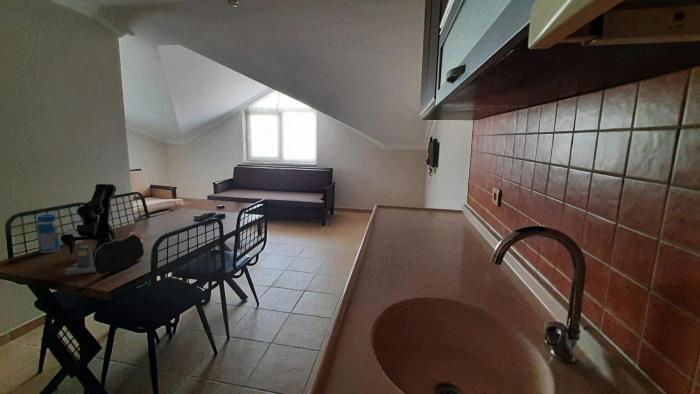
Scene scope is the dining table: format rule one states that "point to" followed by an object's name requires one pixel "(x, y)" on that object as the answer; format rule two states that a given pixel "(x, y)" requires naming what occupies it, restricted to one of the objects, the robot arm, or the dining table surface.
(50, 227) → the beverage bottle
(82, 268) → the din rail
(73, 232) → the white angled block
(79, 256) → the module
